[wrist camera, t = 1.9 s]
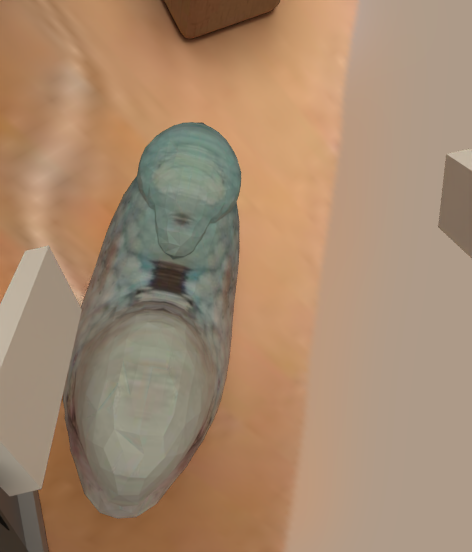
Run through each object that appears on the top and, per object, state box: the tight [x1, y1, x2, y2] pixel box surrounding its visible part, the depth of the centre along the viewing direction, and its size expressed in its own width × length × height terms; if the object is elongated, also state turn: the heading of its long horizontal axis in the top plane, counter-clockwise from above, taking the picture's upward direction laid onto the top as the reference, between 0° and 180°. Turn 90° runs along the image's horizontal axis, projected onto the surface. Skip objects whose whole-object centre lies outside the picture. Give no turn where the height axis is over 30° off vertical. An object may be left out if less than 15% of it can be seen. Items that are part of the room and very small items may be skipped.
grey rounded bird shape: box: [63, 122, 241, 518], centre depth 25 cm, size 21×9×20 cm, turn 170°
